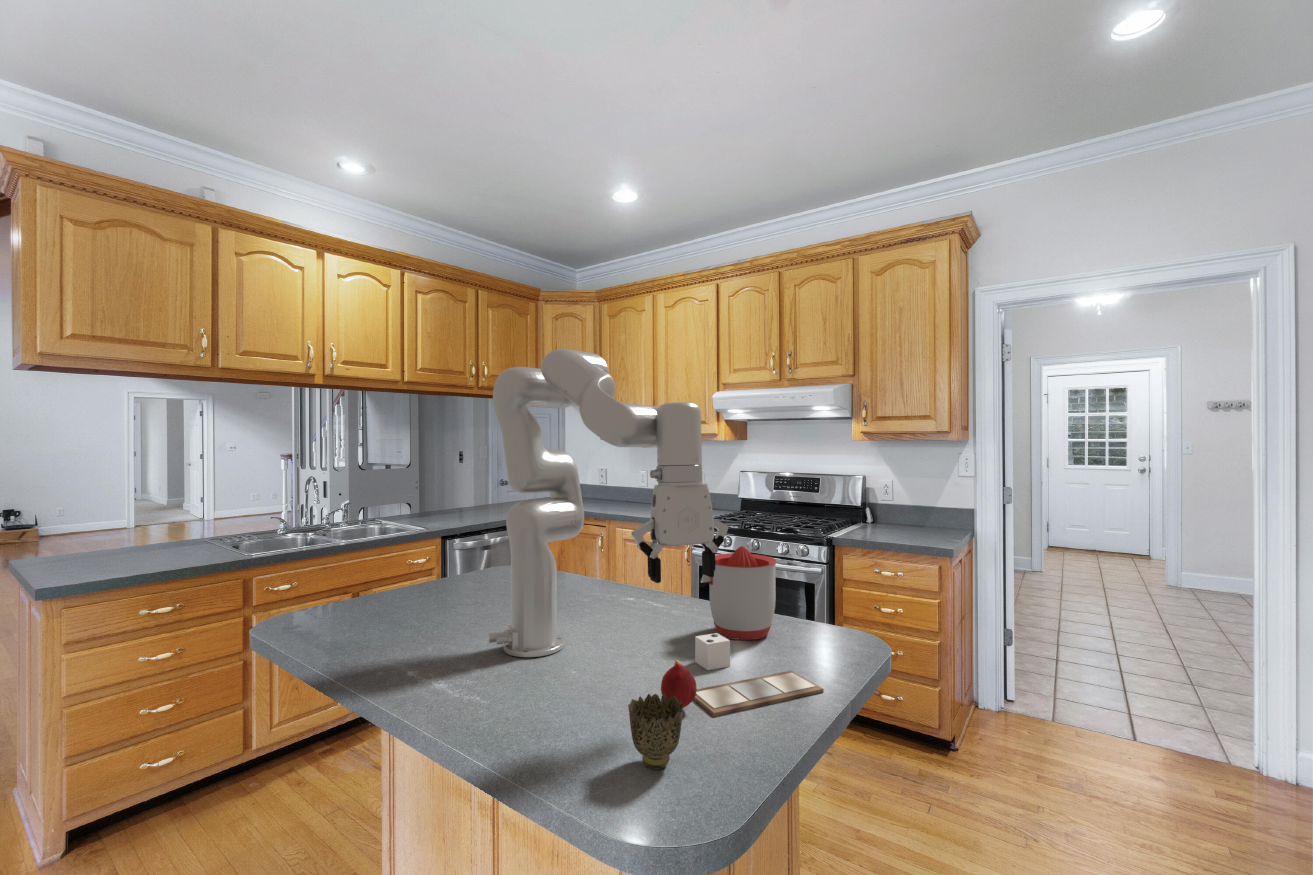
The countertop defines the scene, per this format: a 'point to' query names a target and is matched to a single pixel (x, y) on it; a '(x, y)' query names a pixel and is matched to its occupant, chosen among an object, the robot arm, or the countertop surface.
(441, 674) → the countertop surface
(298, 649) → the countertop surface
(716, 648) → the die
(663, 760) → the cup
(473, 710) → the countertop surface
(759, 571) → the citrus juicer
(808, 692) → the brown flat rectangular frame
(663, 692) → the onion
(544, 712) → the countertop surface
